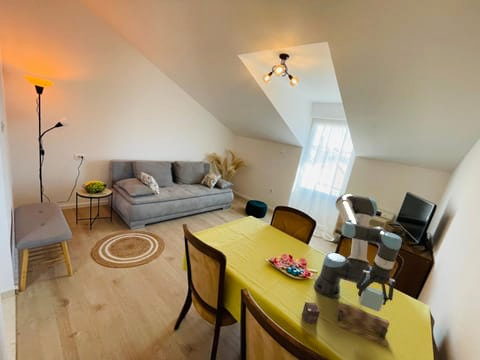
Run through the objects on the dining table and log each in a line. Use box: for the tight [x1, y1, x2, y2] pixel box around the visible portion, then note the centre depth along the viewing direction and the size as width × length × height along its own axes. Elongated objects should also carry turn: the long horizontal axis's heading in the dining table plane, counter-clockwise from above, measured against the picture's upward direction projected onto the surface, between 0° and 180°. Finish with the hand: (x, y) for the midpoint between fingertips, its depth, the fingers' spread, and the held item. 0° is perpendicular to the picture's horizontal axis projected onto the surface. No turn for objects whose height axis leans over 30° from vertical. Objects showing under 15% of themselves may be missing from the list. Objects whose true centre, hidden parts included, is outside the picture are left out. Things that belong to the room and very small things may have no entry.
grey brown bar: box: [335, 301, 391, 347], centre depth 116 cm, size 23×8×8 cm, turn 69°
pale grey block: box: [359, 286, 384, 312], centre depth 111 cm, size 8×4×9 cm, turn 68°
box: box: [302, 301, 321, 325], centre depth 118 cm, size 6×6×7 cm
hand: (368, 305), depth 112 cm, fingers closed on pale grey block, 8 cm apart
